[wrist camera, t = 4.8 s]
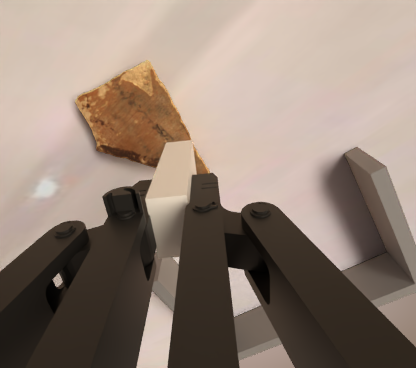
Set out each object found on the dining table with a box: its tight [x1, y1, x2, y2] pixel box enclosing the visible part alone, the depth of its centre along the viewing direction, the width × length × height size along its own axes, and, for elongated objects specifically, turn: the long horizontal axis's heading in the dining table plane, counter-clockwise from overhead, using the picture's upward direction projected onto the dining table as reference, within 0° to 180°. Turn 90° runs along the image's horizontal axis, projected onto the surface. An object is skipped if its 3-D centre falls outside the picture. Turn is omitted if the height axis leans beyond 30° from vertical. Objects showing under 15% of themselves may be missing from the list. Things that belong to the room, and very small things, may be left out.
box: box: [152, 147, 416, 360], centre depth 28 cm, size 14×22×4 cm, turn 122°
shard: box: [75, 60, 210, 174], centre depth 23 cm, size 11×8×2 cm
